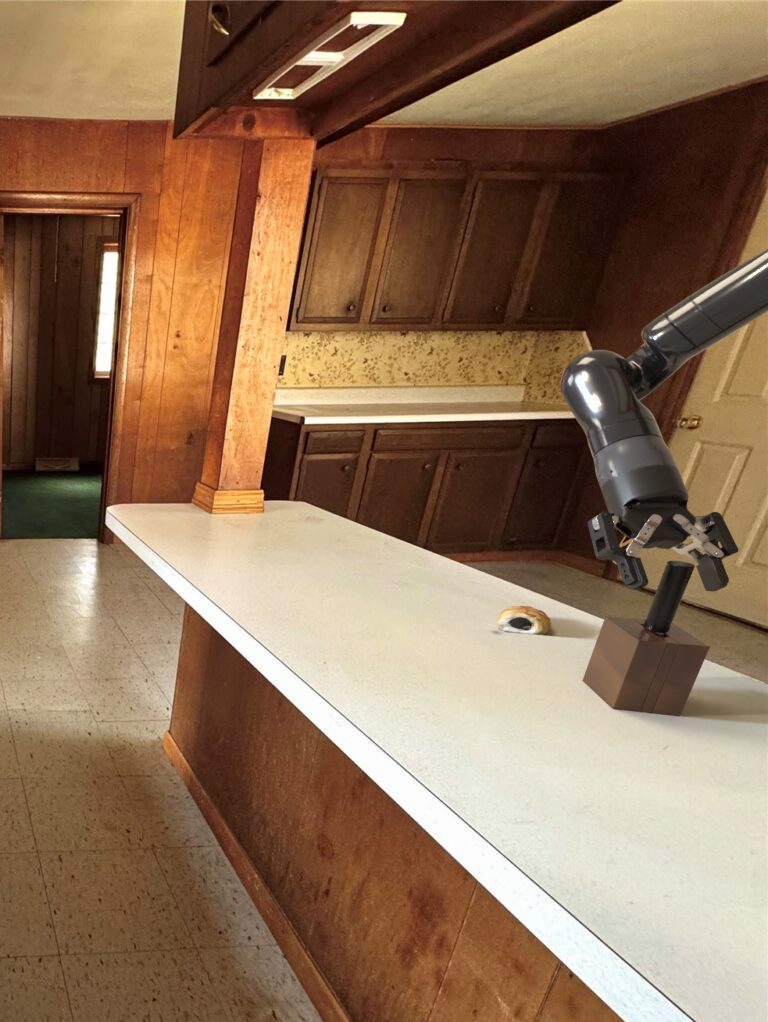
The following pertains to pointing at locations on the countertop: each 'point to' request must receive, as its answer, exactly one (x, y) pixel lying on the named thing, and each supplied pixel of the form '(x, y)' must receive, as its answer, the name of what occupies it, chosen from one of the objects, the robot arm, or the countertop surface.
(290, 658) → the countertop surface
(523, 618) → the pastry
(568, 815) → the countertop surface
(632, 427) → the robot arm
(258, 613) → the countertop surface
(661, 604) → the knife
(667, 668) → the knife block
